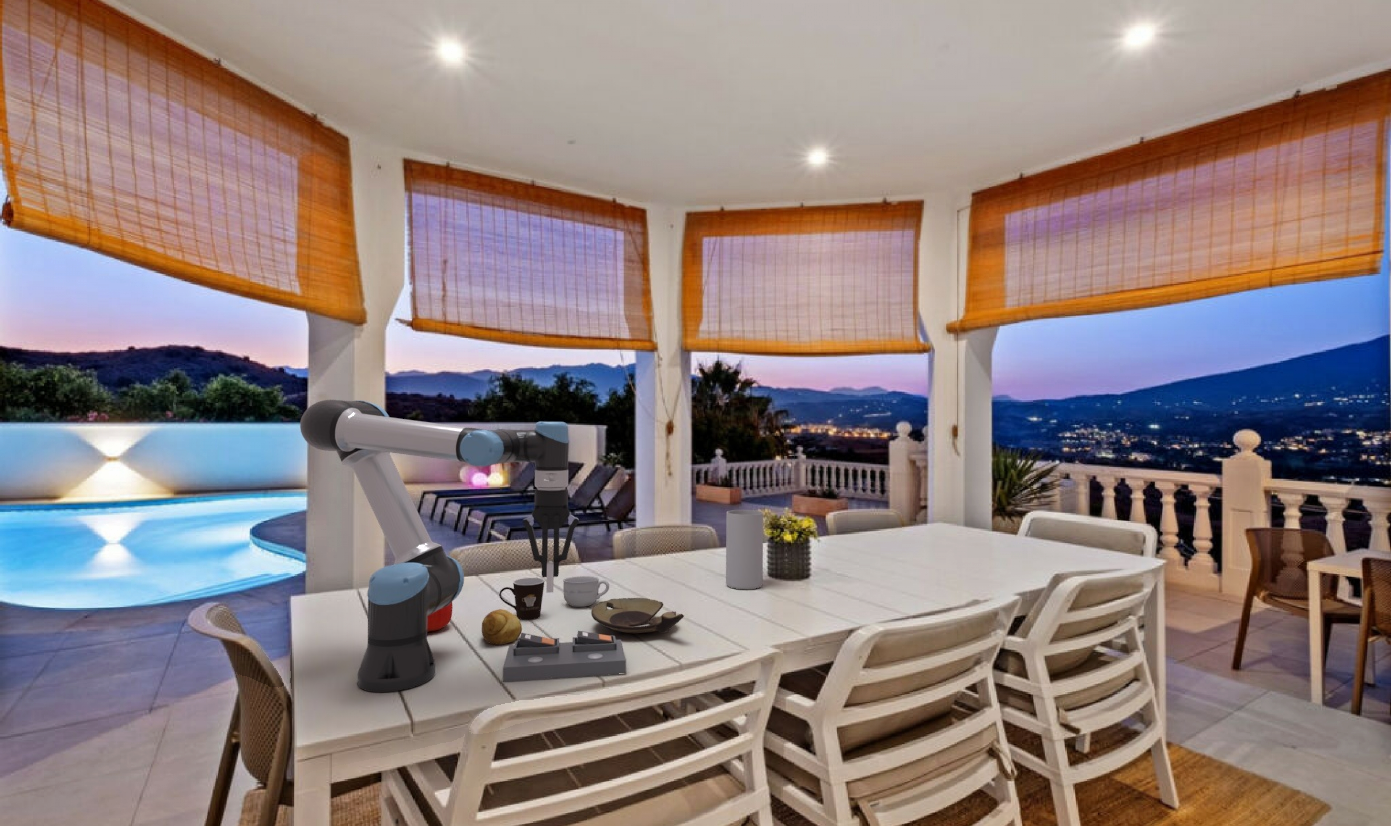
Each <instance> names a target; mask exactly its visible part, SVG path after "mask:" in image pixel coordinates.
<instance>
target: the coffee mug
mask: <svg viewBox="0 0 1391 826" xmlns="http://www.w3.org/2000/svg"><path fill="white" fill-rule="evenodd" d="M512 584H513V588H512V587H510V586H509V587H508V586H506V587H502V589H500V590H499V599H500V600H501V601H502V602H504V604H506V605H508V606H509V607H512V608H514V610H515V611H516V612H515V613H516V614H515V615H516V617H517V618H518V619H519V621H520V620H521V621H533V620H538V619H539V618H540V617H541V611H542V604H543V596H544V589H545V588H544V587H545V579H544V578H539V577H524V578H523V577H522V578H519V579H516V580H513V582H512ZM506 590H509V591H510V592H511V593H512V594H513V596H514V603H515V605H514V604H512V603H510V602H508V601H507V600H505V599H504V598H503V597H502V594H503V591H506Z"/></svg>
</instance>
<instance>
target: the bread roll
mask: <svg viewBox="0 0 1391 826" xmlns="http://www.w3.org/2000/svg"><path fill="white" fill-rule="evenodd" d="M522 631H523V628H522V623H521V621H520V619H518V618H517V614H513V613H512V612H510V611H508V610H507V609H501V608H500V609H496V610H492V611H491V612H489V613H487V615H485V617H483V619H482V622H481V635H482V637H483V639H484V641H486V642H487V643H489V644H492V645H505V644H506V645H507V644H508V643H513V642H515V641H516V640H518V639H519V638H520V636H521V633H523V632H522Z"/></svg>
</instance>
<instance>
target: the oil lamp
mask: <svg viewBox="0 0 1391 826" xmlns="http://www.w3.org/2000/svg"><path fill="white" fill-rule="evenodd" d="M663 606H664V603H663V601H659V600H656V599H650V598H646V597H621V598H610V599H608V600H604V601H600V602H599V603H598V604H596V605H594V607H592V609H591V611H590V614H591V617H592V619H593V620H594V621H595V622H597V623H599V624H600V625H602V626H604V627H607V628H609V629H611V630H613V631H616V632H620V633H626V634H644V633H651V632H657V633H661V634H664V633H667V632H669V631H670V630H671V629H672V628H673V627H674V626H676V624H678V623H679V622H680V621H682V619H683V618H685V617H684V616H685V615H684V614H683V613H679V614H677V612H676V611H667V612H664V613H662V614H661V615H660V616H658V617H656V615H657V614H658V612H659V611H660V610H661V609H662V608H663ZM654 617H655V618H654ZM653 618H654V619H653ZM641 624H642V625H641ZM644 624H648V625H644ZM640 625H641V626H640Z"/></svg>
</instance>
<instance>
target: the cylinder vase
mask: <svg viewBox="0 0 1391 826" xmlns="http://www.w3.org/2000/svg"><path fill="white" fill-rule="evenodd" d="M725 518H726V522H725V523H726V526H725V527H726V528H725V529H726V530H725V532H726V534H725V535H726V536H725V537H726V538H725V539H726V540H725V543H726V545H725V558H726V559H725V584H726V586H727V587H728V586H729V588H730V587H732V588H731V589H734V588H736V590H740V589H751V590H757V589H760V588H761V587H762V586H763V583H764V582H763V581H764V579H763V578H764V577H763V575H764V574H763V573H764V572H763V568H764V567H763V566H764V558H763V557H764V553H763V552H764V512H763V511H762V510H761V511H760V510H753V509H732V510H728V511H726V517H725ZM759 587H760V588H759ZM756 588H757V589H756Z"/></svg>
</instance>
